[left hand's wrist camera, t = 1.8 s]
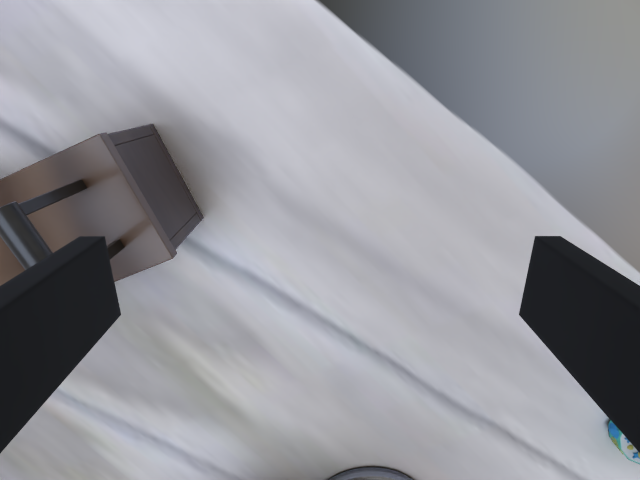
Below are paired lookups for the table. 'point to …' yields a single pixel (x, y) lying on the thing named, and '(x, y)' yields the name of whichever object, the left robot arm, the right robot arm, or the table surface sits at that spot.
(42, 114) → the table surface
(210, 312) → the table surface
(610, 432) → the decorative hourglass
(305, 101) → the table surface
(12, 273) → the lid
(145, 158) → the chest
